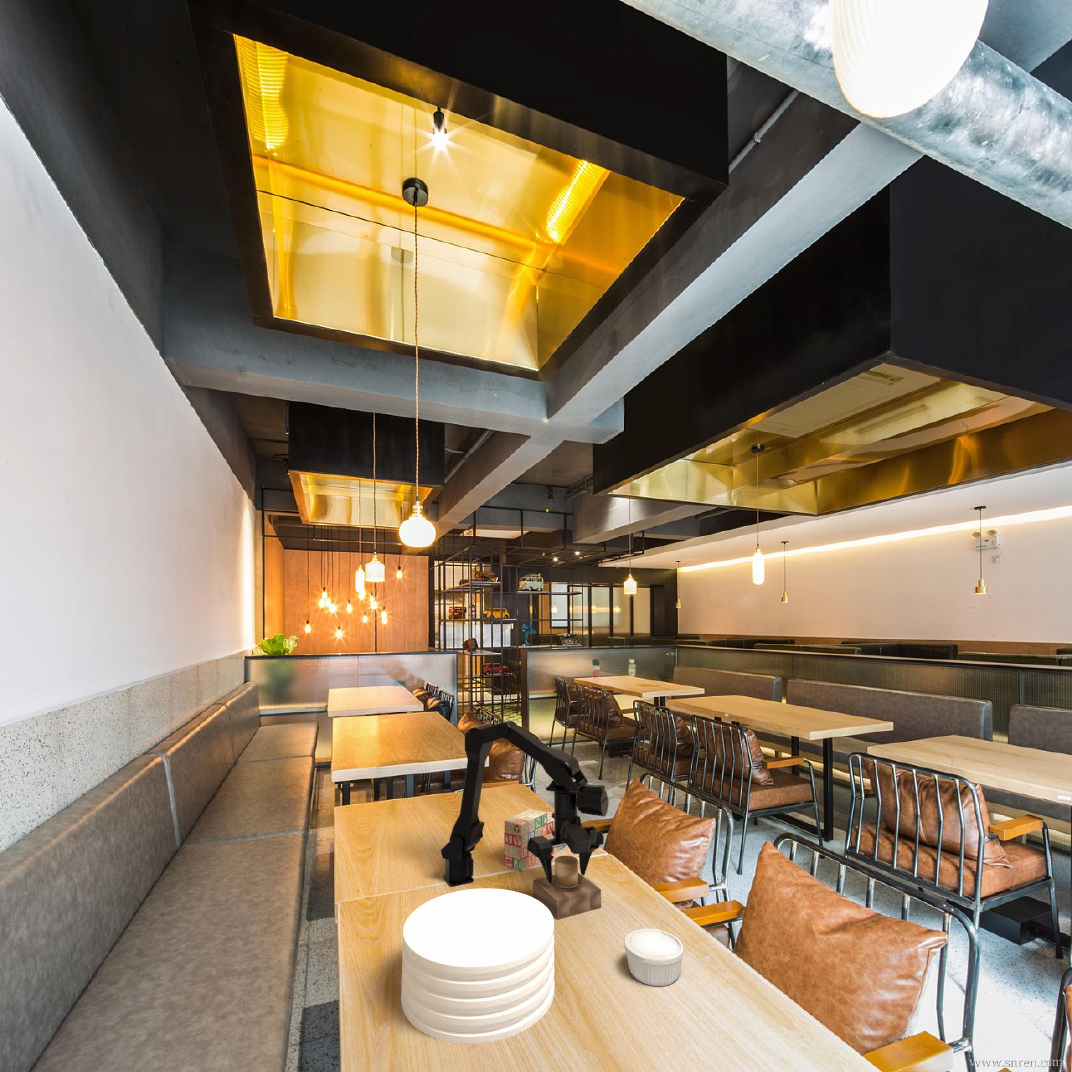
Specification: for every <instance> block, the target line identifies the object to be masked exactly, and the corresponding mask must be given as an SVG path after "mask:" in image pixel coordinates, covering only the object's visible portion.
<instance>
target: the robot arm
mask: <svg viewBox="0 0 1072 1072" xmlns="http://www.w3.org/2000/svg"><path fill="white" fill-rule="evenodd" d="M501 739H505V740H506V741H507V742H509V743H510V744H512V746H514V747H516V748H517V749H519V750H521V752H522V753H525V754H526V755H527V756H528V757H530V758H532V759H533V760H535V761H536V762H537V763H539V765H540V766H541V767H542V768H543V770H544V771H545V773H546V774H547V775H548V776H549V778H550V779H551V782H550V783H549V785H548V786H547V787H546V788H545V790H546V792H552V793H553V811H554V812H553V813H552V818H554V830H553V831H552V835H553V836H554V839H549V840H548V839H547V838H545V837H544V836H537V837H532V838H530V839H529V840H528V843H527V850H528V851H530V852H531V853H532V854H533V855H535V856H536V857H538V858H539V860H540V862H539V863H540V864H541V867H542V869H543V872H544V874H545V877H547V880H548V882H549V883H552V875H553V872H552V871H553V869H552V867H553V865H552V861H553V859H554V856H555V855H553V854H552V855H551V853H552V852H553V848H555V847H560V846H565V847H566V846H567V847H568V848H569V850H570V852H571V853H572V854H573V855H578V860H579V861H578V862H579V863H578V864H579V870H580V874H581V875H582V876H585V875H586V871H587V868H588V865H589V861H590V859H591V856H592V854H593V853H594V852H595V851H596V850H598V849H599V848H600V846H601V845H604V844H605V843H604V842H605V839H604V838H605V837H604V834H603V832H602V831H601V830H599V829H598V828H596V827H595V826H594V825H593V826H592V825H590V826H585V827H583V825H582V819H581V816H579V815H578V812H580V813H581V814H582V815H583V814H584V815H589V816H598V817H606V815H607V813H608V811H609V797H608V793H607V790H606V786H605V784H589V780H588V779H587V777H586V776H585V774H584V773H583V771H582V770H581V768H580V767H581V766H580V764H579V760H578V759H577V758H576V757H574V756H573V755H571V754H569V753H566V752H565V751H563V750H562V751H561V750H558V749H555V748H553V747H550V746H548V745H546V744H545V743H544V742H543V741H541V740H539V739H538V738H536V737H535V736H533V734H531V733H529V732H527V730H525V729H523V728H522V727H520V726H519V725H518V724H516V722H515V721H513V720H510V719H508V720H506V721H503V722H500V723H497V724H494V725H489V724H488V723H483V724H480V725H477V726H473V727H471V728H469V729H467V730H466V732H465V733H464V751H465V755H466V758H467V763H466V770H465V775H464V784H463V788H462V789H463V790H462V797H461V804H460V810H459V811H460V812H459V815H458V817H457V819H456V821H455V822H454V824H453V825H452V826H453V827H452V830H451V833H450V835H449V841H448V842H447V843H446V844H445V845H444V846H443V847H442V848H441V849H440V853H441V858H442V859H443V860H445V867H444V868H445V869H444V870H445V871H444V872H445V873H444V874H442V878H443V879H444V880H445V882H447V884H448V885H449V886H450V887H453V886H458V885H463V884H467V883H472V882H474V881H475V879H474V877H473V876H474V859H473V857H472V856H473V854H472V853H471V852H472V851H474V850H476V849H475V848H476V846H477V844H479V843H480V841H481V840H482V838H483V837H484V827H485V822H484V821H481V820H480V818H479V809H480V801H481V793H482V787H483V779H484V773H485V768H486V767H485V766H486V761H487V759H488V756H489V755H490V753H491V751H492V748H493V745H494V743H495V741H498V740H501ZM574 780H575V781H574Z"/></svg>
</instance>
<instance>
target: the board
mask: <svg viewBox="0 0 1072 1072" xmlns="http://www.w3.org/2000/svg"><path fill="white" fill-rule="evenodd" d="M532 895H533V896H532V897H533V898H535V899H536V900H538V901H540V902H541V903H542V904H544V905H545V906H546V907H547V908H548V909H549V911H550V912H551V914H552V916H553V918H555V919H556V920H560V919H565V918H567V917H572V916H574V915H579V914H582V913H587V912H591V911H593V910H597V909H601V908H602V889H601V888H600V887H599V886H597V885H595V884H594V883H593V882H591V881H590V879H588V878H586V877H585V876H584V875H581V873H579V872H578V886H577V887H576V888H575V889H571V890H563V889H559V888H557V887H556V886H555V874H554V875H553V874H552V883H549V882H548V880H547V877H546V876H545V877H540V878H536V879H533V881H532Z"/></svg>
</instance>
